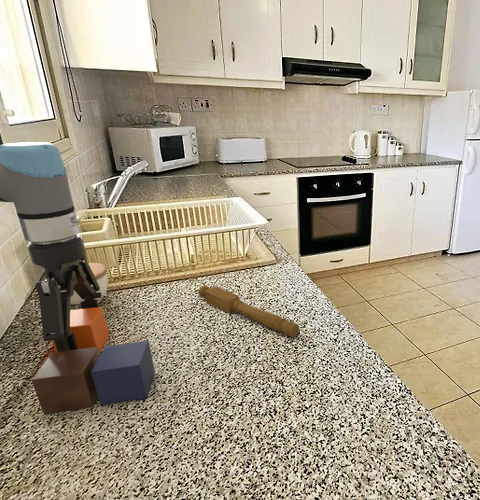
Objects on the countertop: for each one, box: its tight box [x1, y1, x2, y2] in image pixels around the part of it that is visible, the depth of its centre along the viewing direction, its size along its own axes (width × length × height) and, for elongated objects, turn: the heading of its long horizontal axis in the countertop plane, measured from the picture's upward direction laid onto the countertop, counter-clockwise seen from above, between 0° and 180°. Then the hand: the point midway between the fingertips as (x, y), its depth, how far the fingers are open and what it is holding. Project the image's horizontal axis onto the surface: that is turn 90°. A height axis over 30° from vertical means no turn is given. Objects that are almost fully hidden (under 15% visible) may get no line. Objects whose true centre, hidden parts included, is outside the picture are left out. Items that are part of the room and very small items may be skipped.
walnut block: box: [31, 347, 101, 415], centre depth 58 cm, size 6×6×6 cm
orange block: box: [51, 306, 110, 352], centre depth 70 cm, size 6×6×6 cm
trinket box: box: [60, 262, 109, 309], centre depth 85 cm, size 11×11×9 cm
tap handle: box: [197, 285, 300, 338], centre depth 83 cm, size 3×3×30 cm
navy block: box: [91, 340, 156, 406], centre depth 60 cm, size 6×6×6 cm
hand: (85, 345), depth 71 cm, fingers open, 11 cm apart
